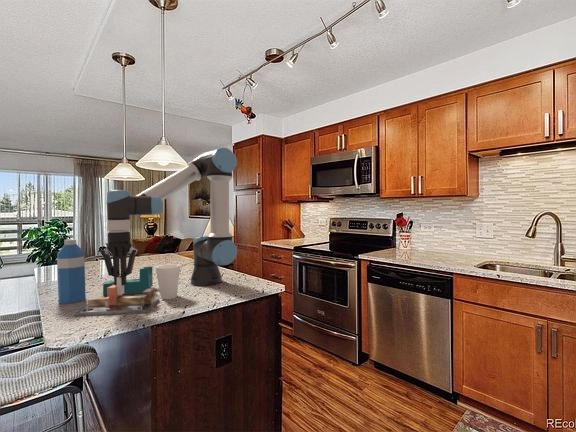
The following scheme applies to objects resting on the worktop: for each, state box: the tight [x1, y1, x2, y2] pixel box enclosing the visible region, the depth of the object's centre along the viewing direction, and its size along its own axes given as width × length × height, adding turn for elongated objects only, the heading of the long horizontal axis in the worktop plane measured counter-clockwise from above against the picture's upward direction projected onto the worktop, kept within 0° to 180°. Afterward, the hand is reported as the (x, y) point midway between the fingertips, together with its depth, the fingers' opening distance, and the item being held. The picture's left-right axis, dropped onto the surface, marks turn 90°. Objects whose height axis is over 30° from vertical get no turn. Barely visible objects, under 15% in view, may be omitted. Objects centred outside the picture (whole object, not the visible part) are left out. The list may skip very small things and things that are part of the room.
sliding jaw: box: [104, 285, 123, 308], centre depth 115 cm, size 3×9×6 cm, turn 5°
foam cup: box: [155, 263, 181, 300], centre depth 130 cm, size 10×9×13 cm
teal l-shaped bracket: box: [102, 266, 154, 297], centre depth 141 cm, size 18×11×10 cm, turn 105°
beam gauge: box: [87, 287, 155, 307], centre depth 115 cm, size 23×9×5 cm, turn 95°
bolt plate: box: [74, 298, 160, 317], centre depth 116 cm, size 24×14×1 cm, turn 95°
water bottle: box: [56, 238, 87, 305], centre depth 128 cm, size 9×9×25 cm
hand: (120, 293), depth 117 cm, fingers closed
